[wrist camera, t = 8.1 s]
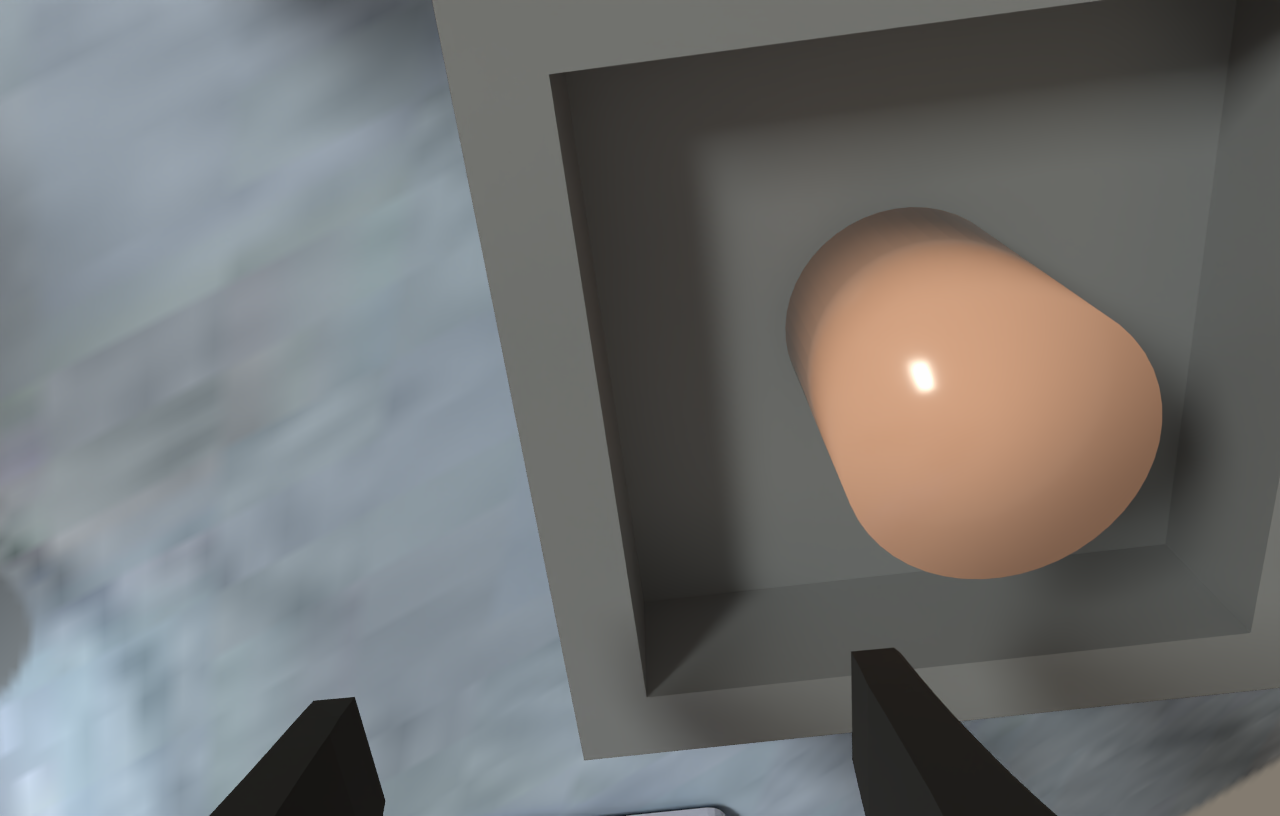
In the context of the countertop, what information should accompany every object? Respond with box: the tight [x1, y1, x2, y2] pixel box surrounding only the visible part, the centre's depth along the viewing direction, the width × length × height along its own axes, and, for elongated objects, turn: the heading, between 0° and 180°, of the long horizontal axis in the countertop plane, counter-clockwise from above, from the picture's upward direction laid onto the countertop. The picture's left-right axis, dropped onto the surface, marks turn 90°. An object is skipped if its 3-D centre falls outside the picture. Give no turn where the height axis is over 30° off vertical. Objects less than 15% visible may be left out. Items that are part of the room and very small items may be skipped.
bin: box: [432, 0, 1280, 760], centre depth 19 cm, size 16×16×4 cm
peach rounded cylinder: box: [785, 207, 1162, 579], centre depth 17 cm, size 5×5×6 cm
